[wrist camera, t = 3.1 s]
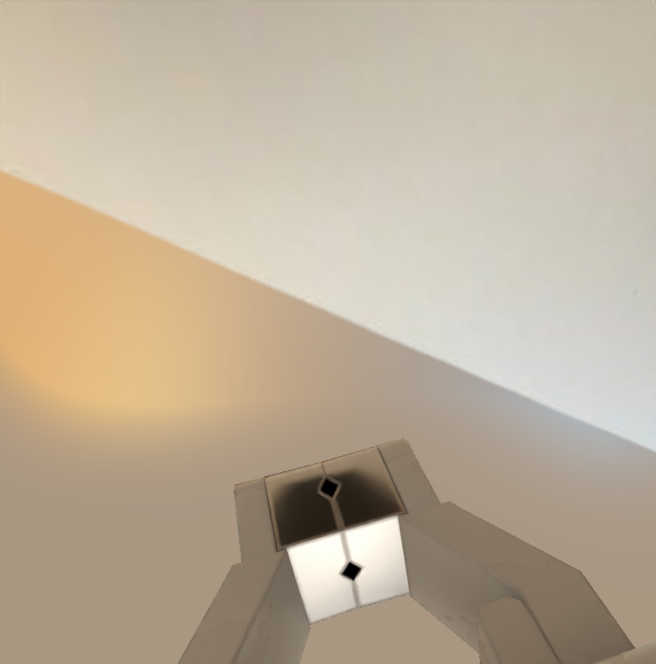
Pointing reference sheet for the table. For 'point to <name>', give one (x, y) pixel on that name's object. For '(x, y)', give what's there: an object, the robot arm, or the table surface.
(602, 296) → the table surface
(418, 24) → the table surface
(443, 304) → the table surface
